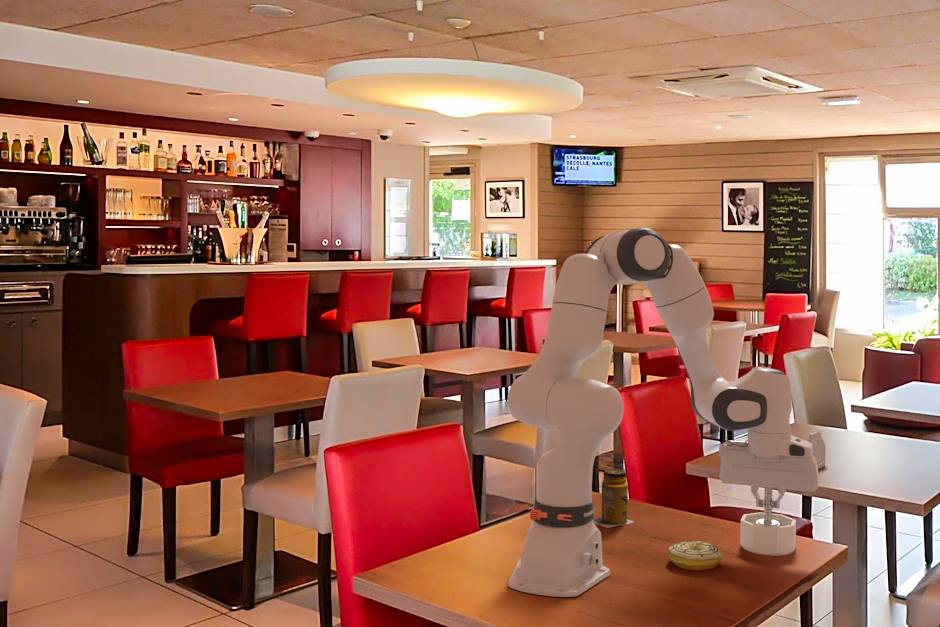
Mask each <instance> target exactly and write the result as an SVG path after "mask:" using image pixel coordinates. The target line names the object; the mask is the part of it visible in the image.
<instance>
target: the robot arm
mask: <svg viewBox="0 0 940 627" xmlns="http://www.w3.org/2000/svg"><path fill="white" fill-rule="evenodd" d="M637 283H641V284H643V286H645V287H646V289H647V290H648V291H649V294H650V296H651V299H652V301H653V304H654V306H655V308H656V310H657V312H658V315H659V316H660V318H661V321H662V323H663V324H664V326H665V328H666V329H667V331H668V332H669V334H670V336H671V338H672V339H673V341H674V343H675V346H676V348H677V351H678V354H679V356H680V358H681V361H682V363H683V366H684V368H685V372H686V373H687V376H688V380H689V383H690V384H689V385H690V404H691V407H692V410H693V411H694V413H695V415H696V417H698V418H699V419H700V420H703V421H705V422H708V423H711V424H713V425H715V426H717V427H719V428H721V429H722V430H723V429H724V430H726V431H731V432H732V431H733V432H734V431H740V430H741V431H743V430H746V429H747V440H746V441H741V440H740V441H739V440H738V441H736V440H735V441H734V440H726V441H725V442H724V441H723V442H722V443H721V444H720V445H719V447H718V457H719V459H720V460H721V461H720V465H719V466H720V468H719V476H718V478H719V480H720V481H721V483H722V484H727V485H738V486H739V485H740V486H749V487H750V491H751V494H752V495H753V497H754V499H755V506H756V507H757V508H764V498H765V497H764V496H763V497H762V496H760V494H759V492H758V491H759V488H764V487H769V488H772V489H777V493H778V494H779V495H778V496H777V498H772V508H773V509H775V510H780V507H781V500H782V499H783V497H784V496H785V494H786V490H790V491H791V490H793V491H803V492H812V493H813V492H815V491H817V490H818V489H819V486H820V478H819V477H820V476H819V475H820V474H819V469H818V466H817V461H816V459H815V457H814V456H813V455H812V452H813V445H812V443H811V442H809V441H808V440H805V439H803V438H801V437H800V438H799V437H797V436H794V435H793V434H792V426H791V423H790V418H791V414H792V409H793V408H792V404H793V403H792V402H793V400H792V397H793V396H792V387H791V381H790V378H789V376H788V375H787V373H785V372H784V371H782V370H781V371H780V370H779V369H774V368H769V367H763V366H756V367H752V369H751V370H750V371H749V372H748V373H746V374H744V375H742V376H741V377H739V378H737V379H735V380H733V381H732V380H731V381H729V380H727V379H725V378H724V376H722V375H721V373H720V372H719V370H718V369H717V366H716V363H715V360H714V358H713V355H712V353H711V350H710V347H709V345H708V342H707V338H706V337H707V336H706V333H707V330H708V329H709V327H710V326H711V324H712V322H713V319H714V316H715V312H714V306H713V302H712V299H711V296H710V293H709V291H708V289H707V286H706V285H705V281H704V280H703V277H702V276H701V274H700V272H699V270H698V268H697V266H696V265H695V263H694V262H693V260H692V258H691V257H690V255H689V254H688V253H687V251H686V249H684V248H683V247H682V246H680V245H678V244H673V243H672V244H670V243H668V242H666V240H665V238H664V237H663V236H662V235H661V234H660V233H658V232H657V231H654V230H652V229H650V228H645V227H634V228H632V229H626V230H625V229H624V230H623V229H622V230H616V231H614V232H610V233H608V234H607V235H602V236H600V237H599V236H598V237H597V238H596V239H595V240H593V242H592V243H590V245H589V246H588V247H587V248H586V250H585V252H584V253H576V254H573V255H570V256H569V257H567V259H565V261H564V262H563V265H562V266H561V269H560V272H559V275H558V277H557V282H556V285H555V288H554V294H553V297H552V303H551V304H552V305H551V309H550V315H549V321H548V325H547V328H546V329H547V330H546V334H545V339H544V342H543V344H542V347H541V349H540V351H539V354H538V355H537V357H536V359H535V360H534V362H533V363H532V364H531V365H530V367H529V368H528V369H527V370H526V371H525V372H524V373H522V375H519V376H518V377H517V378H516V379H515V380H514V381H513V382H512V384H511V385H510V387H509V390H508V393H507V394H508V395H507V406H508V410H509V412H510V414H511V416H512V418H514V419H515V420H517V421H519V422H522V423H523V424H525V425H528V426H530V427H533V428H538V429H544V430H550V431H555V432H556V440H555V445H554V446H553V449H552V448H551V449H549V450H548V451H547V452H545V453H543V454H542V455H541V456H540V457H539V459H538V461H537V462H536V468H535V470H536V471H535V473H536V479H535V480H536V481H535V482H536V484H535V486H536V487H535V491H536V493H535V494H536V497H535V499H534V502H533V506H532V508H531V509H530V512H529V519H530V520H532V522H530V524H529V525H530V526H529V529H528V532H527V534H526V538H525V541H524V543H523V547H522V550H521V552H520V558H519V560H518V561H517V564H516V566H515V568H514V570H513V572H512V574H511V575H510V578H509V580H508V586H507V587H509V588H510V589H513V590H516V591H519V592H523V593H526V594H527V593H528V594H533V595H539V596H545V597H546V596H547V597H555V598H556V597H558V598H559V597H560V598H561V597H562V598H571V597H573V598H574V597H578V596H579V595H581V594H583V593H584V592H586V591H587V590H589V589H590V588H592V587H593V586H595V585H597V584H598V583H600V582H601V581H603V580H605V579H606V578H607V577H609V576H610V575H611V571H610V570H611V569H610V568H609V567H607V566H604V565H603V562H604V561H603V545H602V544H603V543H602V532H601V531H600V529H599V528H598V526H596V524H595V523H594V522H593V519H595V511H596V510H595V508H596V507H595V502H594V499H593V498H592V497H593V496H592V494H593V492H592V491H593V486H592V485H593V472H594V471H593V470H594V463H595V459H596V456H597V452H598V450H599V448H600V446H601V444H602V443H603V442H604V441H605V439H606V438H607V437H609V436H610V435H611V434H612V433H614V432H615V431H616V430H617V429H618V428H619V426H620V425H621V422H622V420H623V418H624V412H625V405H624V400H623V397H622V395H621V393H620V391H619V390H618V389H617V388H616V387H615V386H612V385H610V384H607V383H605V382H602V381H598V380H596V379H592V378H591V379H590V378H584V377H583V378H582V377H577V373H578V371H579V369H580V367H582V365H583V364H584V363H585V362H586V361H588V360H589V359H591V358H594V357H595V356H596V355H597V354H598V353H599V352H600V350H601V349H602V345H603V338H604V333H605V327H606V320H607V313H608V305H609V298H610V295H611V292H612V289H613V288H614V287H615V286H616V285H622V286H624V285H625V286H627V285H633V284H637Z"/></svg>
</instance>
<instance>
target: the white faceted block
mask: <svg viewBox="0 0 940 627" xmlns="http://www.w3.org/2000/svg"><path fill="white" fill-rule="evenodd" d="M821 434H822V433H821V431H816V432H815V431H814V432H813V433H810V434H809V435H808V439H807V441H809V442H811V443H812V445H813V452H812V455H813V456H814V457H815V459H816V461H817V465H818V470H819V469H822V468H824V467H826V444H825V442H824V439H823V437H822V435H821ZM823 462H824V463H823ZM821 463H822V464H821ZM819 464H820V465H819Z"/></svg>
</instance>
